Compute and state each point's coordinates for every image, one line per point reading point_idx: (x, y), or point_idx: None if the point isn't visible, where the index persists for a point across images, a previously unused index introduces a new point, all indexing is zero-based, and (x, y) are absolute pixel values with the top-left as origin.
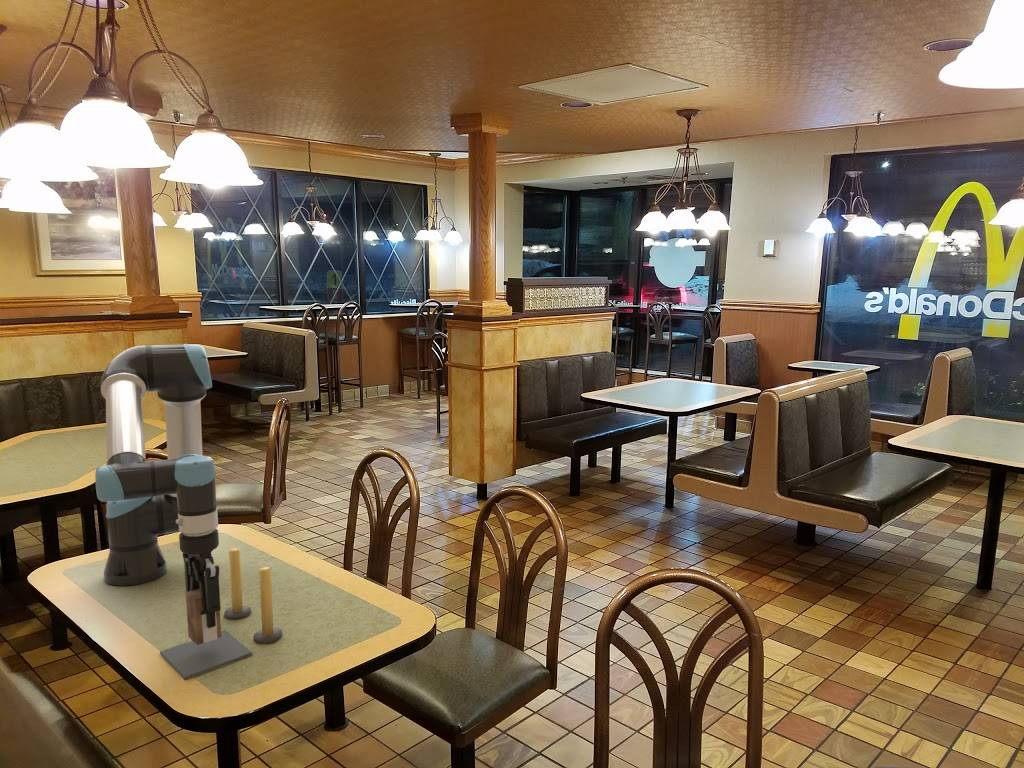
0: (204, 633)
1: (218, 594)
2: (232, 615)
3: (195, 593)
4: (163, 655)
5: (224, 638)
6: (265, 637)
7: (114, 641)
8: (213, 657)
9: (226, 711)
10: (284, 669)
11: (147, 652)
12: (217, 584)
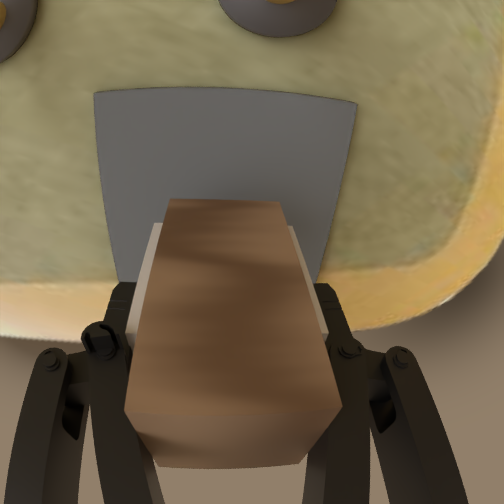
0: None
1: (441, 437)
2: (11, 42)
3: (217, 460)
4: None
5: (167, 121)
6: (303, 7)
7: (15, 322)
8: None
9: (469, 271)
10: (483, 107)
11: (95, 302)
12: (459, 496)
